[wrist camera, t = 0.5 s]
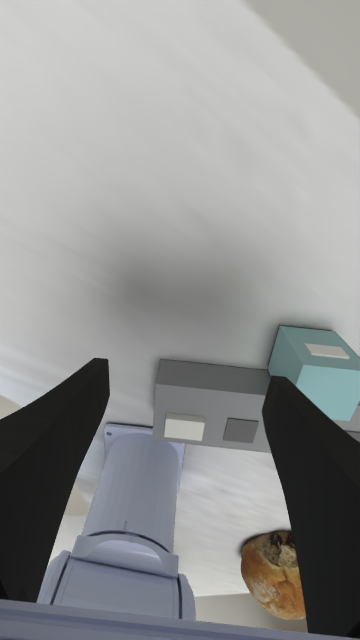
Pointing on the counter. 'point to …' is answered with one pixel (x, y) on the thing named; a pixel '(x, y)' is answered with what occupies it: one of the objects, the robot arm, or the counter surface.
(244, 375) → the power strip
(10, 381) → the counter surface
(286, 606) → the bread roll
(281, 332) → the block
